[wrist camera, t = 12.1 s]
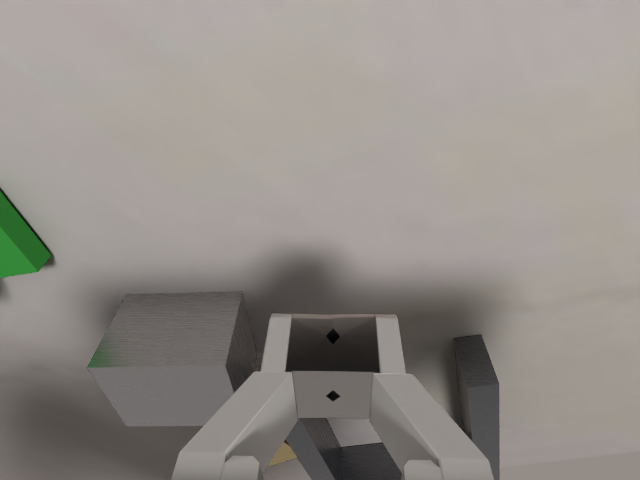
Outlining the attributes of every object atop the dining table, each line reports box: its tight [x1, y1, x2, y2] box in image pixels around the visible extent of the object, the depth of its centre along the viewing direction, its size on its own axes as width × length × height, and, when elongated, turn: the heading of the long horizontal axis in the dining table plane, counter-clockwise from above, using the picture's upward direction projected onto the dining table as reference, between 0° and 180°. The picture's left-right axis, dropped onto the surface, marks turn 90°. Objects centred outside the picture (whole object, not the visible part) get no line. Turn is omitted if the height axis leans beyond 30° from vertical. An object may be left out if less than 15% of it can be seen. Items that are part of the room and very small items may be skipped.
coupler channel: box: [285, 335, 499, 480], centre depth 26 cm, size 12×12×3 cm
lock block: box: [87, 291, 257, 427], centre depth 21 cm, size 6×5×4 cm
